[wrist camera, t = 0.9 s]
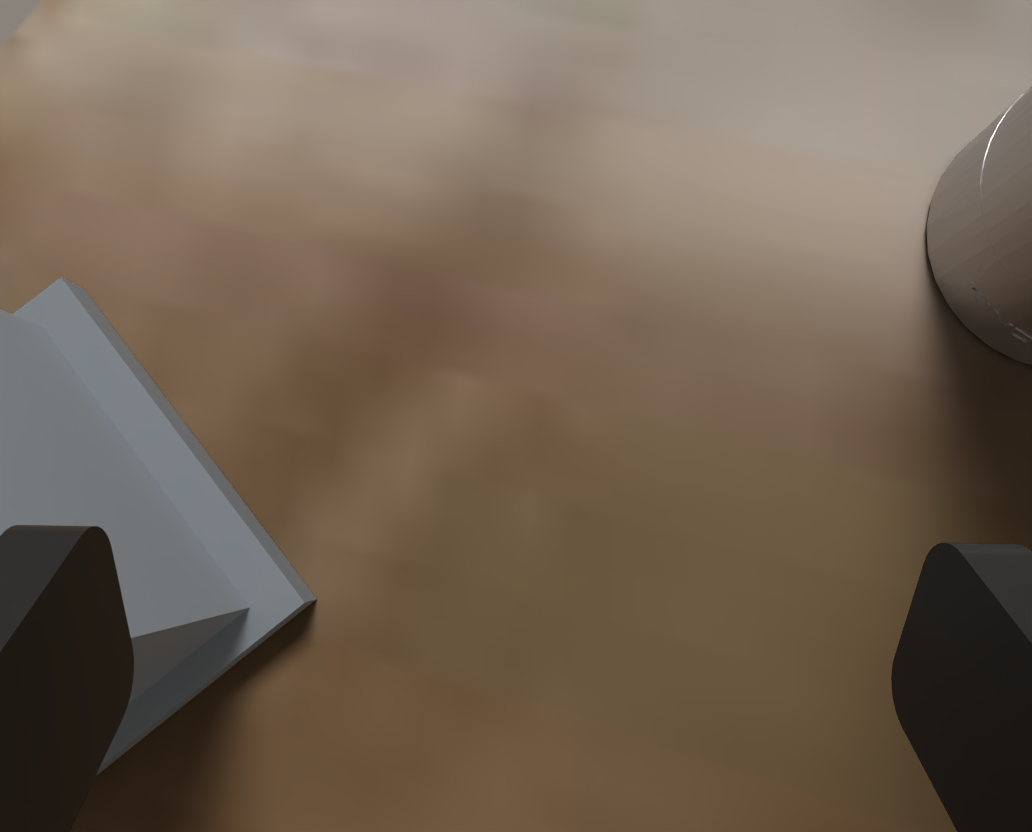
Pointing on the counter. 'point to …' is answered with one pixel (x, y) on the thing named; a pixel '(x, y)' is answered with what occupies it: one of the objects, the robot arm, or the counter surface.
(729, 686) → the counter surface
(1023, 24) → the counter surface
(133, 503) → the grey rectangular pillar
